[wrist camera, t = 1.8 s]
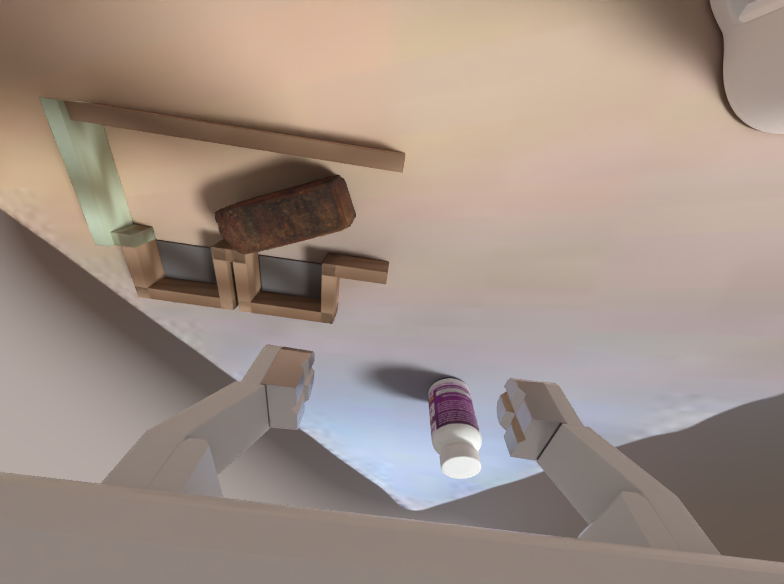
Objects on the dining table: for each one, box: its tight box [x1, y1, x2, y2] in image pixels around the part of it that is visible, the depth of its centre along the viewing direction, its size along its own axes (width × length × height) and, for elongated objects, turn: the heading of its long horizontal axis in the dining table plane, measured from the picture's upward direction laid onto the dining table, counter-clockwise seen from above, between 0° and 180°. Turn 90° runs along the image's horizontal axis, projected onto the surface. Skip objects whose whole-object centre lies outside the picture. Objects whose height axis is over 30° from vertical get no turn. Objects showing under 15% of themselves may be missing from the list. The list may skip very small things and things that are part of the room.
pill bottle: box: [428, 378, 482, 479], centre depth 33 cm, size 5×5×10 cm
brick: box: [215, 175, 356, 254], centre depth 24 cm, size 11×4×5 cm, turn 105°
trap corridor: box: [39, 97, 405, 324], centre depth 26 cm, size 16×26×3 cm, turn 82°
